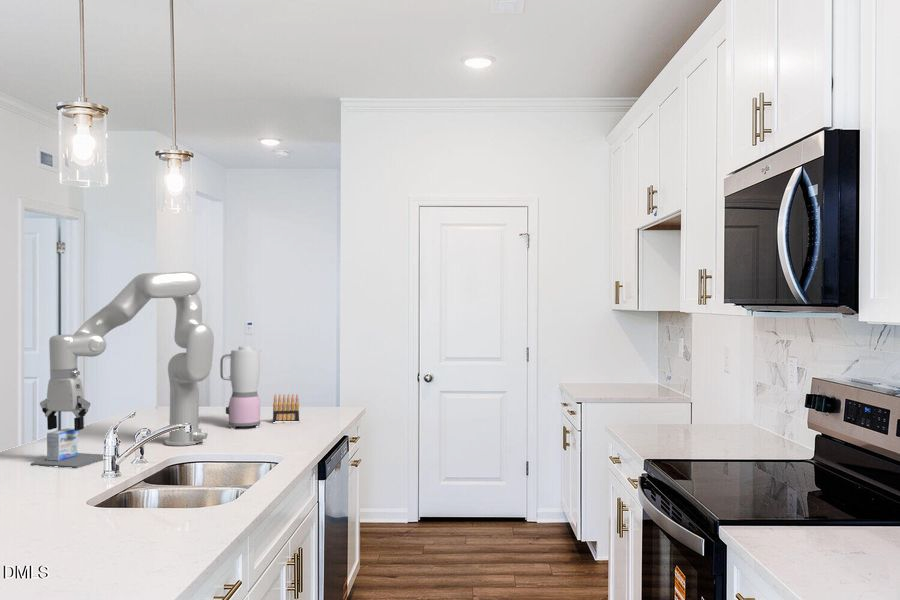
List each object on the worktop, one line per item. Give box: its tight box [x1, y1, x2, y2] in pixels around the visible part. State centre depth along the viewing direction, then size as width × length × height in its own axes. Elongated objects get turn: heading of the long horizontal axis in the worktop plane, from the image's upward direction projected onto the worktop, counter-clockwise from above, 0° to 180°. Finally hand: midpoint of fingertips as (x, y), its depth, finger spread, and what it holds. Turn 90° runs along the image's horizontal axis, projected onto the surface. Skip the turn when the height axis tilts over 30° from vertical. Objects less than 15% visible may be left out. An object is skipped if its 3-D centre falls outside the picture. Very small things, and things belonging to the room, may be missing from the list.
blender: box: [219, 345, 262, 429], centre depth 278 cm, size 16×12×32 cm
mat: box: [30, 452, 104, 469], centre depth 215 cm, size 16×16×1 cm
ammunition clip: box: [272, 393, 300, 423], centre depth 289 cm, size 11×2×12 cm, turn 101°
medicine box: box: [46, 427, 79, 461], centre depth 216 cm, size 8×4×9 cm, turn 167°
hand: (65, 429), depth 217 cm, fingers open, 9 cm apart
